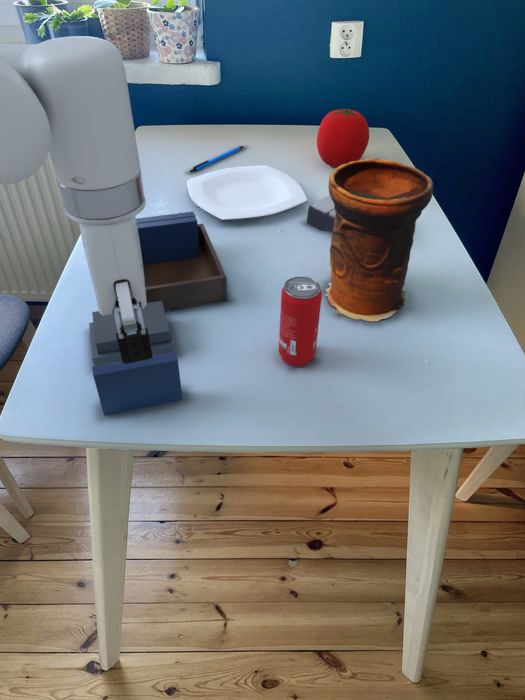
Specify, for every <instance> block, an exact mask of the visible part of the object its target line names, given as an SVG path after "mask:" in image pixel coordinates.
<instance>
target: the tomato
mask: <svg viewBox="0 0 525 700" xmlns="http://www.w3.org/2000/svg"><path fill="white" fill-rule="evenodd" d="M369 141H370V128H369V125H368V122H367V120H366V117H364V115H362V114H361V113H360V112H358V111H356V110H355V109H349V108H342V109H340V108H337V109H335V110H331V111H330V112H328V113H327V114H326V115H325V116H324V117H323V119H322V120H321V122H320V125H319V127H318V131H317V134H316V150H317V152H318V155H319V158H320V160H322V162H323V163H325V164H326V165H327V166H329V167H332V168H334V169H336V168H337V167H339V166H341V165H343V164H347V163H349V162H352V161H359V160H362V157H363V156H364V154H365V153H366V149H367V147H368V144H369Z"/></svg>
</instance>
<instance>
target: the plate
mask: <svg viewBox="0 0 525 700" xmlns="http://www.w3.org/2000/svg"><path fill="white" fill-rule="evenodd" d="M186 183H187V184H186V185H187V191H188V195H189V197H190V199H191V200H192V202H193V203H194V204H195V205H196V206H197V207H198V208H200V209H201V210H203V211H204V212H206V213H207V214H209V215H211V216H213V217H214V218H216V219H218V220H220V221H236V220H237V221H238V220H248V219H257V218H265V217H269V216H274V215H278V214H281V213H284V212H287V211H289V210H292V209H294V208H297V207H300V206H302V205H304V204H305V203H308V202H309V199H308V198H307V196H306V193H305V191H304V189H303V188H302V186H301V185H300V183H298V182H297V181H296V180H295V179H294V178H293V177H291V176H290V175H288V174H286V173H284V172H282V171H281V170H278V169H276V168H274V167H271V166H269V165H267V164H263V165H262V164H261V165H246V166H245V165H243V166H233V167H226V168H220V169H217V170H213V171H209V172H206V173H202V174H200V175H197V176H194V177H192V178H190V179H187V181H186Z"/></svg>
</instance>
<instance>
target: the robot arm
mask: <svg viewBox="0 0 525 700" xmlns="http://www.w3.org/2000/svg"><path fill="white" fill-rule="evenodd" d="M129 92H130V91H129V87H128V80H127V74H126V68H125V64H124V59H123V56H122V54H121V52H120V50H119V49H118V48H117V46H116V45H115V44H113V43H112V42H111V41H109V40H106V39H103V38H99V37H95V36H87V35H85V36H84V35H83V36H82V35H78V36H77V35H75V36H63V37H62V36H61V37H55V38H50V39H47V40H44V41H42V42H39V43H0V185H11V184H16V183H20V182H23V181H25V180H26V179H29V178H31V176H34V175H35V174H36V173H37V172H38V171H39V170H40V168H41V167H42V166H43V165H44V164H45V161H46V159H47V158H48V155H49V158H50V162H51V166H52V169H53V173H54V177H55V180H56V184H57V188H58V192H59V195H60V199H61V203H62V206H63V207H62V208H63V211H64V212H65V215H66V217H67V218H69V219H70V221H73V222H74V223H78V225H79V229H80V230H79V231H80V236H81V241H82V245H83V250H84V254H85V259H86V263H87V267H88V272H89V275H90V279H91V283H92V287H93V292H94V296H95V300H96V304H97V311H99V313H100V314H101V315H103V316H106V315H111V314H112V312H113V313H114V317H115V322H116V327H117V332H118V333H116V337H117V341H118V345H119V349H120V353H121V357H122V362H123V363H125V364H127V363H133V362H138V361H143V360H148V359H151V358H152V357H153V355H152V350H151V345H150V339H149V334H148V329H147V327H146V328H145V326H144V321H143V316H142V311H141V307H142V309H143V308H144V307H145V306H146V305H147V301H146V290H145V279H144V270H143V262H142V254H141V247H140V241H139V235H138V228H137V223H136V219H137V216H138V215H139V214H140V213H141V212H142V211H143V210H144V209H145V207H146V204H147V201H146V194H145V188H144V182H143V175H142V169H141V163H140V162H141V161H140V156H139V149H138V142H137V137H136V131H135V125H134V118H133V112H132V111H133V110H132V105H131V99H130V93H129ZM134 311H136V312H137V317H138V321H137V322H136V320H135V315H134ZM119 313H121V317H122V322H123V324H121V319H120V314H119ZM138 322H139V323H138Z"/></svg>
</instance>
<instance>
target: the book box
mask: <svg viewBox="0 0 525 700" xmlns="http://www.w3.org/2000/svg"><path fill="white" fill-rule="evenodd" d="M197 224H198V237H199V251H200V257H194V258H187V259H180V260H173V261H166V262H159V263H152V264H146V265H143V270H144V279H145V290H146V301H147V303H151V302H158V301H162V303H163V306H164V310H165V312H170V311H176V310H181V309H188V308H194V307H200V306H205V305H211V304H218V303H223V302H225V303H226V302H228V280H227V275H226V273H225V270H224V268H223V266H222V263H221V261H220V259H219V256H218V255H217V252H216V250H215V248H214V245H213V243H212V241H211V238H210V236H209V234H208V232H207V230H206V227H205V225H204V223H197Z"/></svg>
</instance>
